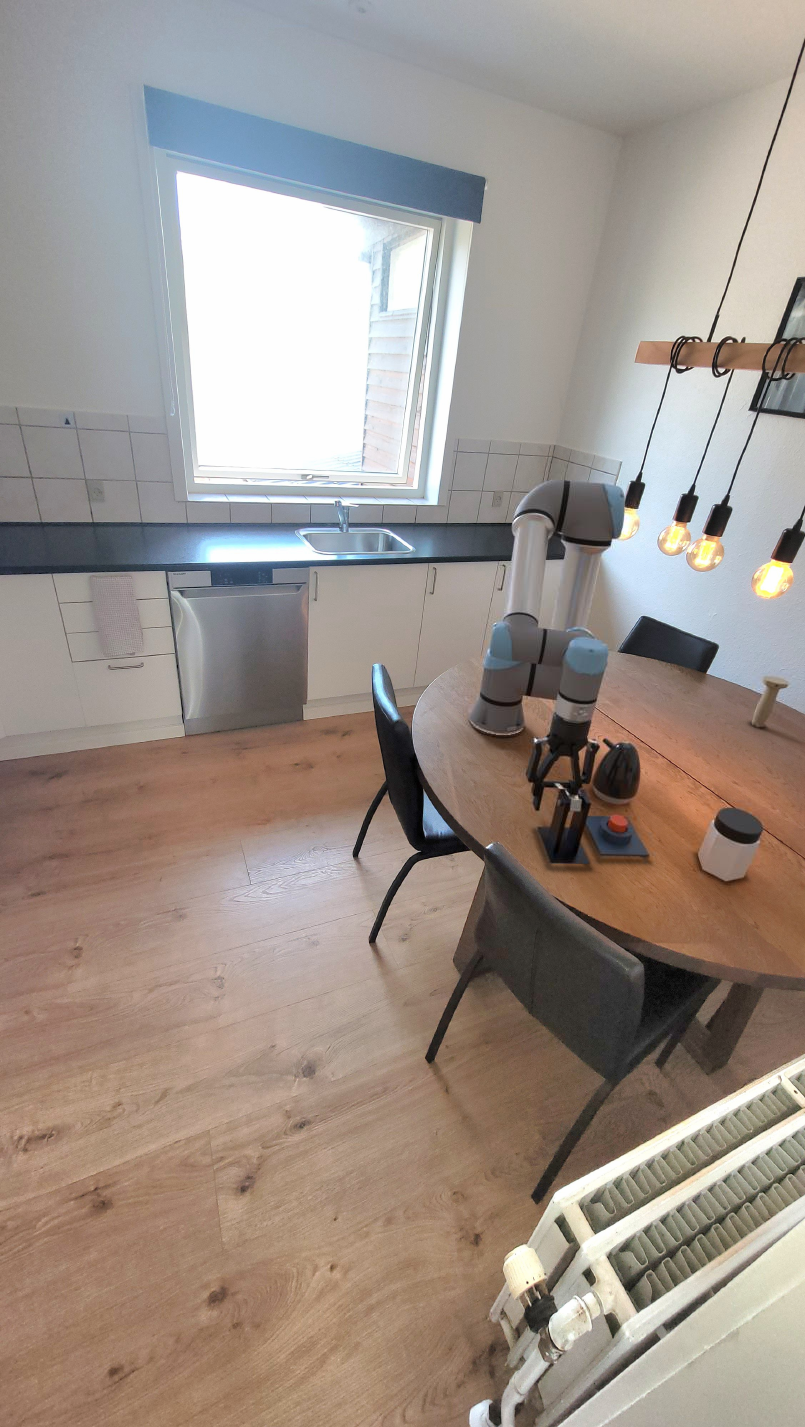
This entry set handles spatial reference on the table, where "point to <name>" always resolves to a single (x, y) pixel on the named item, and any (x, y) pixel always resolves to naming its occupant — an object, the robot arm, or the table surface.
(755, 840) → the jar
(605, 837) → the button block
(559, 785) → the tap lever
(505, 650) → the robot arm
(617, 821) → the button
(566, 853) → the lever stand
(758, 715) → the handle
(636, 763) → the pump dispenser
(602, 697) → the table surface
